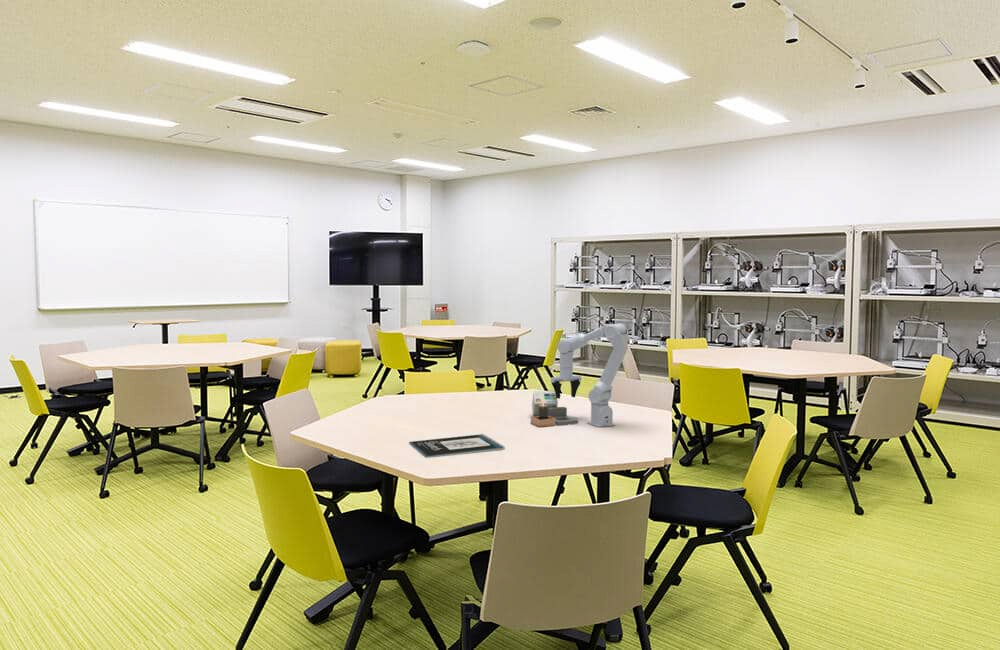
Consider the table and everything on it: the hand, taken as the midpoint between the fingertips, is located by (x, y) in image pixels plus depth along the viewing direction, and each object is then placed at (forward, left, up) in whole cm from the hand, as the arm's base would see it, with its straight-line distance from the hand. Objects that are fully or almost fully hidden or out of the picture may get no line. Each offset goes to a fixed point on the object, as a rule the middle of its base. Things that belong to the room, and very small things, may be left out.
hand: (565, 397), depth 298 cm
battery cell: (-7, +15, -9) cm, 19 cm away
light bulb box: (+11, +5, -7) cm, 14 cm away
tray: (-7, +15, -9) cm, 19 cm away
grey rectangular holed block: (-5, +5, -9) cm, 12 cm away
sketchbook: (-27, +62, -10) cm, 68 cm away
